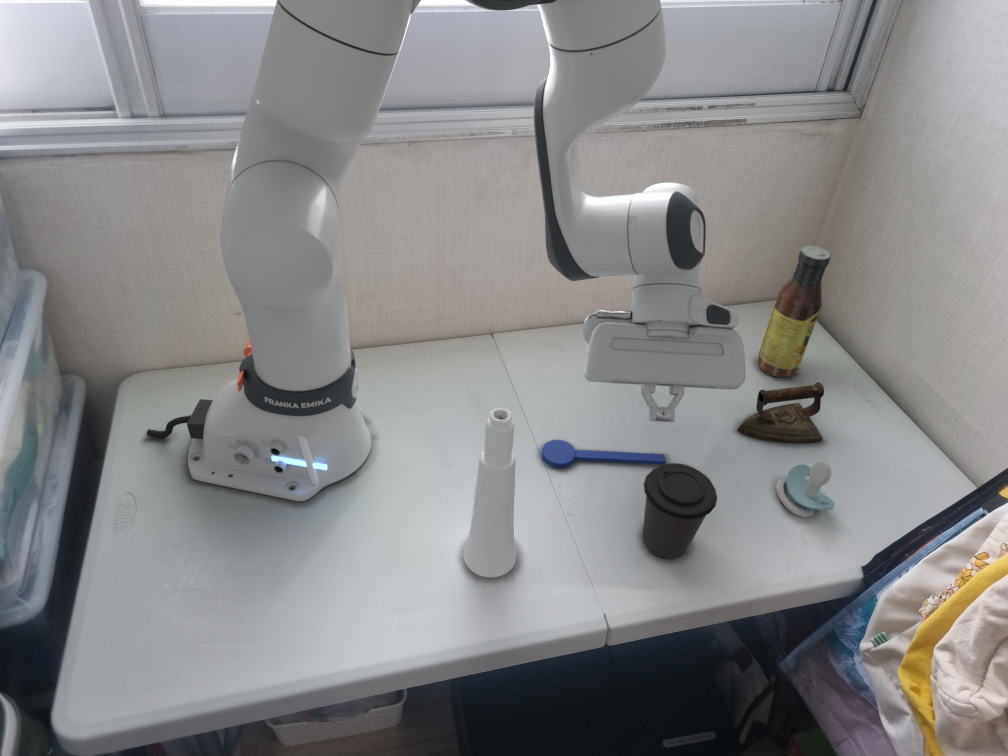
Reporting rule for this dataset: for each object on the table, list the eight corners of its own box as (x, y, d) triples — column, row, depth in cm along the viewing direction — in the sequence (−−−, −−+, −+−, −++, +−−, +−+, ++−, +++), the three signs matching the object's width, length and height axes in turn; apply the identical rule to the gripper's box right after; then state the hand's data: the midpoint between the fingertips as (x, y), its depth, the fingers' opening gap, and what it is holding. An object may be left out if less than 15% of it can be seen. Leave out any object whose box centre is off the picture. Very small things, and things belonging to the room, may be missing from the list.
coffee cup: (633, 508, 94) (648, 451, 88) (700, 521, 93) (719, 464, 87) (627, 561, 88) (642, 503, 82) (698, 576, 87) (719, 519, 81)
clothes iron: (825, 443, 106) (837, 397, 98) (746, 463, 106) (752, 419, 98) (802, 406, 110) (812, 359, 103) (727, 425, 110) (731, 380, 103)
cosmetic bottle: (502, 586, 84) (516, 445, 70) (454, 565, 86) (458, 423, 72) (524, 547, 89) (542, 406, 75) (478, 527, 90) (486, 386, 76)
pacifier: (790, 524, 94) (836, 519, 95) (804, 490, 90) (852, 485, 91) (766, 479, 99) (809, 475, 100) (778, 445, 95) (823, 441, 96)
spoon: (661, 449, 102) (663, 444, 102) (666, 473, 99) (668, 469, 99) (541, 442, 102) (541, 438, 101) (541, 467, 99) (542, 462, 98)
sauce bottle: (799, 382, 115) (845, 269, 102) (757, 376, 116) (797, 262, 103) (793, 356, 120) (836, 244, 107) (753, 350, 121) (791, 238, 108)
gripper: (587, 304, 95) (583, 416, 94) (751, 313, 95) (748, 425, 94) (581, 313, 101) (576, 417, 100) (734, 321, 102) (732, 426, 100)
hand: (661, 421), depth 97 cm, fingers closed
